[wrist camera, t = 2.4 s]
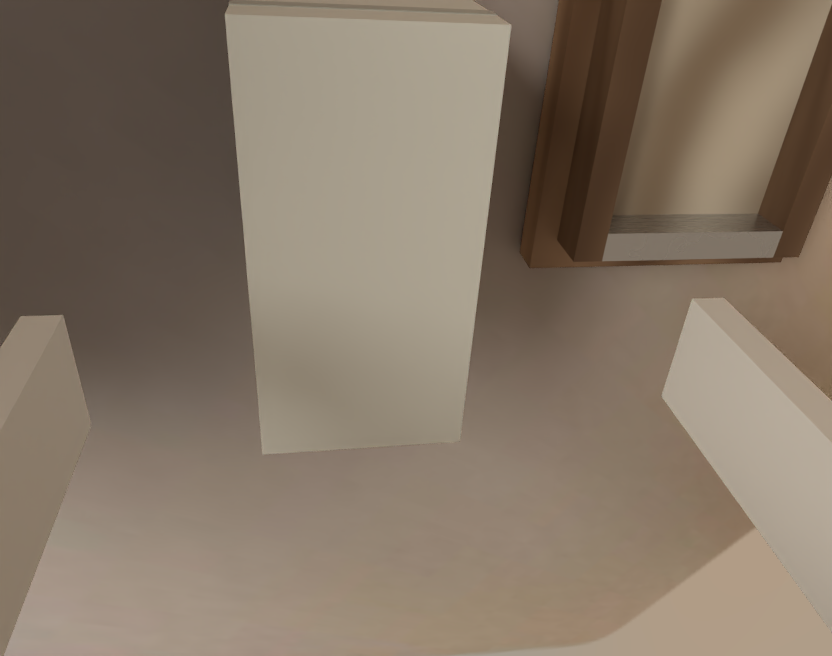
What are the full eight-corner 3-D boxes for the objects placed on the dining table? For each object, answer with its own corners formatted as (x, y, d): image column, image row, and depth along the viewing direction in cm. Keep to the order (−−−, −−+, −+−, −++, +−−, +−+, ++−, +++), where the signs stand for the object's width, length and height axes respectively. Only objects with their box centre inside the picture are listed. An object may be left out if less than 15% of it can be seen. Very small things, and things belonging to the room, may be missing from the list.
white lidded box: (269, 277, 29) (261, 455, 20) (248, -40, 23) (223, 13, 14) (408, 274, 30) (460, 442, 21) (426, -31, 24) (512, 23, 15)
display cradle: (519, 252, 30) (544, 291, 28) (616, -371, 20) (673, -415, 17) (761, 247, 32) (808, 283, 30) (971, -322, 22) (1076, -353, 19)
